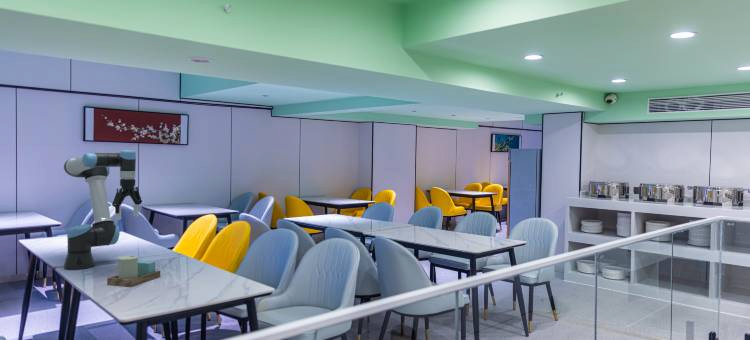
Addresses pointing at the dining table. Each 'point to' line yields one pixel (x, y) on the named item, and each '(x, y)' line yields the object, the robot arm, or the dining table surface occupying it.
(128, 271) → the can
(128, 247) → the dining table surface
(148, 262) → the wing block
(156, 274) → the cradle jig
